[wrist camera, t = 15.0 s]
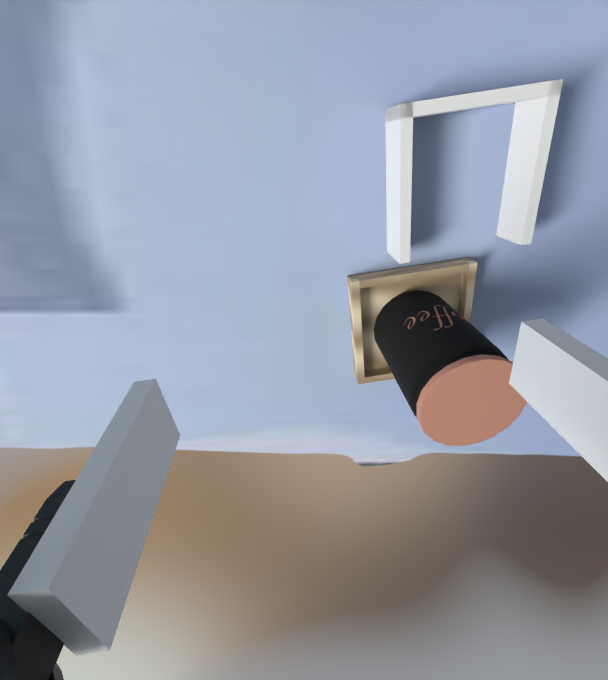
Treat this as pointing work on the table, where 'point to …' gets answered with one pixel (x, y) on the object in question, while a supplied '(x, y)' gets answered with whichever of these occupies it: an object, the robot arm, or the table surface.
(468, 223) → the table surface
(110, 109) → the table surface
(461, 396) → the coffee jar
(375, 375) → the tray
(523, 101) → the frame
